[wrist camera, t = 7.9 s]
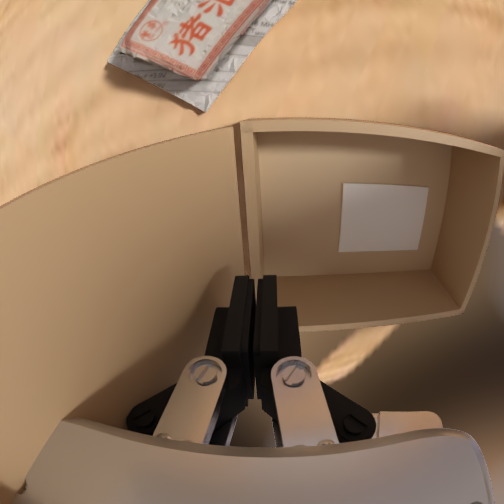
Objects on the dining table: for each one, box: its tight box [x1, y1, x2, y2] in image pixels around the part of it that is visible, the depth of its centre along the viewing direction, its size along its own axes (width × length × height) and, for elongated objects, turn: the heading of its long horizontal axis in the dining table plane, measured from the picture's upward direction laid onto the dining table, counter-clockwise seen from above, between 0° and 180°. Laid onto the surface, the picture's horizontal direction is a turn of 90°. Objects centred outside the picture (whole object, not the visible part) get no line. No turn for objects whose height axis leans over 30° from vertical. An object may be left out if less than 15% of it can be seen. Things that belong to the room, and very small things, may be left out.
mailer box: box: [240, 118, 504, 332], centre depth 18 cm, size 18×14×7 cm
